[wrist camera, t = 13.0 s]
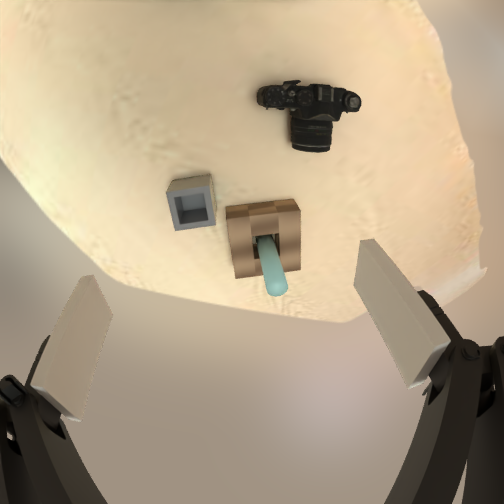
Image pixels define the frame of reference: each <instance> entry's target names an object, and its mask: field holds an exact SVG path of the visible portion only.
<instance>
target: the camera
mask: <svg viewBox="0 0 504 504" xmlns="http://www.w3.org/2000/svg"><path fill="white" fill-rule="evenodd" d="M300 82H301V81H300V80H293V81H285V82H283V85H270V86H265V87H262V88H260V89H259V90H258V93H257V102H258V104H259V105H261V106H263V107H266V110H268V108H276V109H279V110H284V108H290V115H291V116H292V119H291V132H292V133H291V141H292V147H293V148H294V149H296V150H300V151H305V152H317V153H318V152H327V151H329V150H330V145H331V141H332V137H331V134H332V128H333V124H332V121H339V119H340V117H341V114H342V112H346V113H347V114H348V112H358V111H359V109H360V107H361V98H360V97H359V96H358V95H357V94H356V93H354V92H351V91H347V90H346V89H344V88H337V87H335V88H333V87H331V86H330V85H323V84H310V85H309V86H297V85H296V84H298V83H300Z"/></svg>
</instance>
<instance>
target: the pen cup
mask: <svg viewBox="0 0 504 504" xmlns="http://www.w3.org/2000/svg"><path fill="white" fill-rule="evenodd" d="M166 194H167V199H168V203H169V207H170V212H171V216H172V220H173V224H174V228H175V231H178V230H185V229H192V228H199V227H206V226H214V225H216V212H217V209H216V203H215V197H214V190H213V184H212V177H211V174H209V175H202V176H196V177H189V178H183V179H177V180H173V181H172V182H171V184H170V186H169V188H168V190H167V192H166Z"/></svg>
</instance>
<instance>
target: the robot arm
mask: <svg viewBox="0 0 504 504" xmlns="http://www.w3.org/2000/svg"><path fill="white" fill-rule="evenodd" d="M354 287H355V289H356V290H357V292H358V294H359V296H360V297H361V299H362V301H363V303H364V304H365V306H366V308H367V310H368V312H369V313H370V315H371V317H372V319H373V321H374V323H375V325H376V326H377V328H378V330H379V332H380V334H381V335H382V338H383V340H384V342H385V343H386V346H387V347H388V349H389V351H390V353H391V355H392V357H393V359H394V361H395V363H396V365H397V367H398V370H399V372H400V374H401V376H402V378H403V380H404V382H405V384H406V386H407V388H408V389H410V388H412V387H415V386H417V385H420V384H422V383H423V382H424V381H425V380H426V378H427V376H428V375H429V377H430V378H431V382H430V384H429V385H428V386H427V388H426V389H425V390H424V392H423V394H422V395H425V394H426V393H427V396H426V400H425V403H424V407H423V410H422V413H421V417H420V420H419V423H418V426H417V429H416V432H415V435H414V438H413V441H412V443H411V446H410V449H409V451H408V454H407V456H406V458H405V461H404V463H403V466H402V468H401V470H400V472H399V475H398V477H397V479H396V481H395V483H394V485H393V487H392V490H391V491H390V494H389V496H388V497H387V499H386V501H385V503H384V504H452V502H453V500H454V497H455V495H456V491H457V489H458V486H459V483H460V480H461V477H462V474H463V471H464V468H465V464H466V461H467V469H466V479H465V487H464V493H463V499H462V504H504V336H503V337H499V338H498V339H497V340H496V342H495V343H494V344H493V345H492V346H481V347H479V346H478V344H476V343H475V342H474V341H472V340H469V339H463V338H462V337H461V335H460V334H459V332H458V331H457V330H456V328H455V327H454V325H453V324H452V322H451V321H450V320H449V318H448V317H447V315H446V314H444V311H443V310H442V309H441V307H439V305H438V303H437V302H436V301H435V299H434V298H433V297H432V296H431V295H429V294H428V293H427V292H425V291H424V290H421V291H418V292H417V291H416V290H415V289H414V287H413V286H412V285H411V284H410V282H409V281H408V280H407V278H406V277H405V276H404V275H403V273H402V272H401V271H400V270H399V268H398V267H397V266H396V265H395V263H394V262H393V261H392V260H391V258H390V257H389V256H388V255H387V254H386V252H385V251H384V250H383V249H382V248H381V246H380V245H379V244H378V243H377V242H376V241H375V239H368V240H360V246H359V253H358V260H357V267H356V273H355V279H354ZM112 317H113V313H112V311H111V309H110V307H109V306H108V304H107V302H106V300H105V298H104V296H103V294H102V292H101V290H100V288H99V286H98V284H97V282H96V279H95V277H94V275H89V276H82V277H81V279H80V280H79V282H78V284H77V286H76V287H75V289H74V291H73V293H72V295H71V296H70V298H69V300H68V302H67V304H66V306H65V308H64V310H63V311H62V313H61V316H60V317H59V319H58V321H57V324H56V325H55V328H54V329H53V332H52V334H51V335H49V336H48V337H47V338H46V339H45V341H44V342H43V343H42V345H41V347H40V349H39V352H38V354H37V356H36V359H35V361H34V363H33V365H32V368H31V370H30V373H29V375H28V379H27V381H26V383H25V386H23V385H22V384H21V383H20V382H19V381H18V380H17V379H16V378H15V377H14V376H13V375H7V376H5V377H3V379H1V381H0V397H1V398H0V504H107V502H106V500H105V499H104V497H103V496H102V494H101V493H100V491H99V490H98V488H97V486H96V485H95V483H94V482H93V480H92V478H91V477H90V475H89V473H88V471H87V469H86V468H85V466H84V464H83V462H82V460H81V458H80V456H79V454H78V452H77V450H76V448H75V446H74V444H73V442H72V440H71V438H70V436H69V434H68V431H67V429H66V426H65V424H64V422H63V421H62V420H61V419H60V416H61V413H62V414H63V415H64V416H65V417H67V418H68V419H69V420H74V421H79V422H82V420H83V415H84V411H85V407H86V402H87V399H88V395H89V391H90V387H91V383H92V379H93V376H94V372H95V369H96V366H97V362H98V358H99V355H100V352H101V349H102V346H103V343H104V340H105V337H106V334H107V331H108V328H109V325H110V322H111V320H112ZM494 384H495V390H494ZM7 432H8V433H9V434H11V435H12V437H13V439H12V440H10V439H9V438H7Z"/></svg>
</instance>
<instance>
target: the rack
mask: <svg viewBox="0 0 504 504" xmlns="http://www.w3.org/2000/svg"><path fill="white" fill-rule="evenodd" d="M226 220H227V227H228V234H229V240H230V247H231V253H232V259H233V266H234V272H235V278H236V279H238V278H246V277H253V276H261V275H263V271H262V266H261V261H260V257H259V252H258V247H257V244H252V236H259V235H267V234H275V242H274V243H275V246H276V249H277V252H278V255H279V259H280V262H281V265H282V268H283V271H284V272H290V271H297V270H301V210H300V209H299V207H298V205H297V204H296V202H295V201H294V199H289V200H279V201H270V202H261V203H253V204H245V205H237V206H229V207H226Z"/></svg>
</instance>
